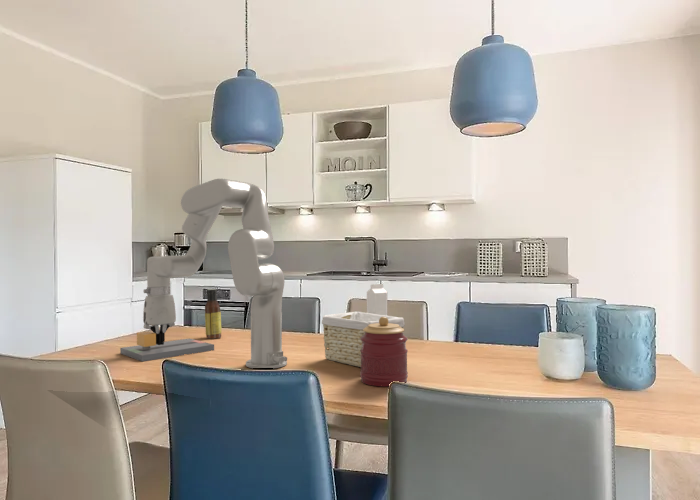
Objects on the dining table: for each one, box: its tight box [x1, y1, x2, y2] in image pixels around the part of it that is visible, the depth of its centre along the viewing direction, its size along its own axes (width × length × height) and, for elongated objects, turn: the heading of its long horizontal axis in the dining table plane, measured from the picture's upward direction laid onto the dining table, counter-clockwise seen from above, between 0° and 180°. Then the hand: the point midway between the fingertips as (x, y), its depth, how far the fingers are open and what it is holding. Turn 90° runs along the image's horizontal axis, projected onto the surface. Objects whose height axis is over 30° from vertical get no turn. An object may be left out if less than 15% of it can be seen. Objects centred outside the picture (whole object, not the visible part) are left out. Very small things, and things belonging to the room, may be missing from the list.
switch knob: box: [136, 331, 156, 349], centre depth 178 cm, size 6×4×5 cm, turn 45°
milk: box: [366, 283, 388, 316], centre depth 206 cm, size 6×6×22 cm
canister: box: [359, 317, 409, 388], centre depth 142 cm, size 13×13×18 cm
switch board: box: [119, 338, 215, 363], centre depth 183 cm, size 18×26×2 cm
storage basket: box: [321, 310, 405, 368], centre depth 167 cm, size 24×16×15 cm
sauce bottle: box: [204, 288, 222, 340], centre depth 211 cm, size 6×6×20 cm
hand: (159, 344), depth 181 cm, fingers closed
